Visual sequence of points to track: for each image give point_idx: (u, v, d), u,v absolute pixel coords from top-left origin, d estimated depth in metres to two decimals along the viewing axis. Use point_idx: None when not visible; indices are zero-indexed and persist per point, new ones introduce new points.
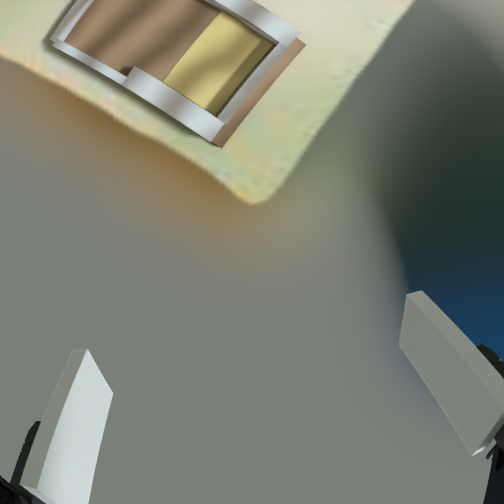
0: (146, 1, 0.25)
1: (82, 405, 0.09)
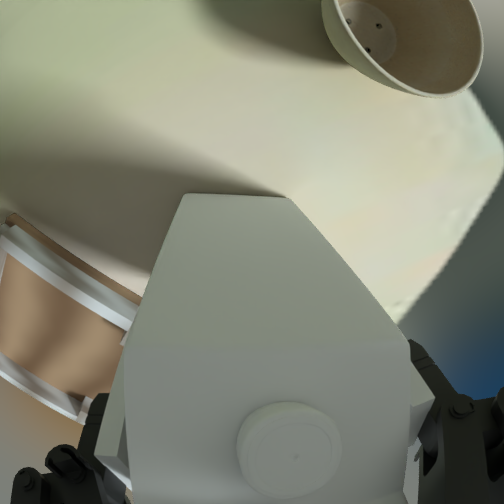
0: (59, 324, 0.22)
1: None
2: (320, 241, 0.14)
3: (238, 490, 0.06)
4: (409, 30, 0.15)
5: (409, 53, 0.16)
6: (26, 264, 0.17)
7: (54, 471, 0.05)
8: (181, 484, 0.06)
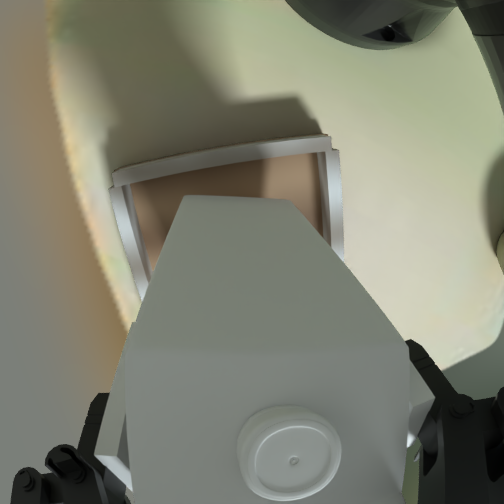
0: None
1: None
2: (320, 243, 0.14)
3: (238, 492, 0.06)
4: None
5: None
6: (331, 190, 0.21)
7: (54, 471, 0.05)
8: (182, 486, 0.06)
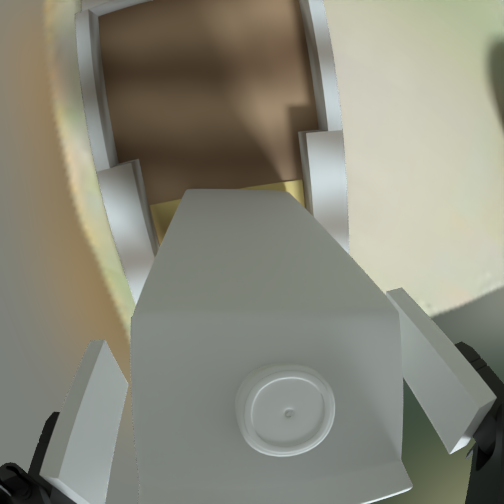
0: (236, 67, 0.18)
1: (100, 395, 0.10)
2: (315, 226, 0.14)
3: (237, 453, 0.06)
4: None
5: None
6: (312, 6, 0.15)
7: (4, 489, 0.04)
8: (183, 448, 0.06)
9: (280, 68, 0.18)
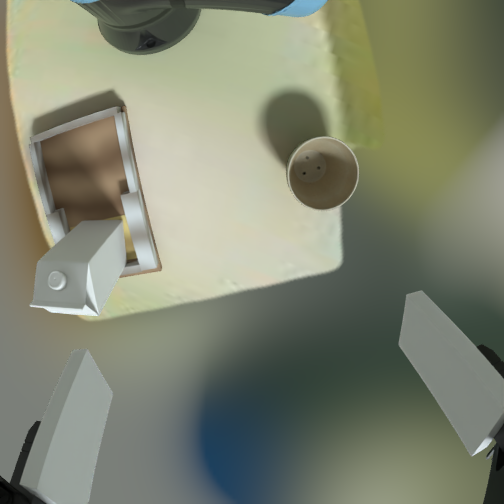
0: (95, 165, 0.41)
1: (82, 405, 0.09)
2: (103, 238, 0.37)
3: (51, 292, 0.29)
4: (328, 178, 0.45)
5: (319, 186, 0.45)
6: (118, 133, 0.38)
7: None
8: (42, 290, 0.29)
9: (113, 163, 0.41)
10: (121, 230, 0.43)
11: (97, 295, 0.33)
